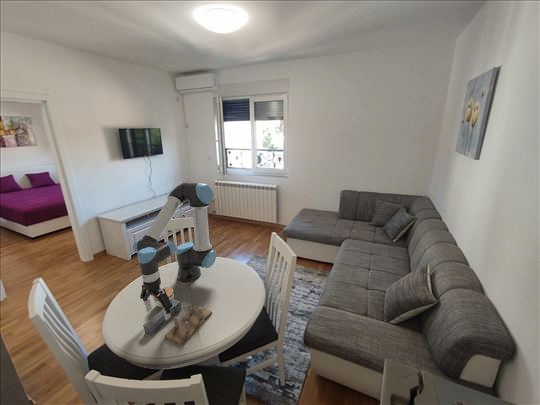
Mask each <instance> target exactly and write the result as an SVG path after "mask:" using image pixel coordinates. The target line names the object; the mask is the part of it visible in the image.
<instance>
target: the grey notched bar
mask: <svg viewBox="0 0 540 405" xmlns="http://www.w3.org/2000/svg"><path fill="white" fill-rule="evenodd" d="M171 303H172V305H173V306H172V307H171V308H170V315H171V317H170V318H169V319H168V320H165V315H164V310H163V309H164V308H161V310H160V311H159V312H158V313H156V314H155V315H154V316H153V317H151V319H149V320H148V321H147V322H146V323H144V324H143V325H142V327H143V330H144V334H146V335H147V336H150V337H152V335H153V334H155V333H156V332H157V331H158V330H159V329H160V328H161V327H162V326H164V325H165V324H166V323H167V322H168V321H169V320H171V319H172V317H175V315H177V314H178V313H179V312H180V311H181V310H182V302H181V301H180V300H178V299H175V298H174V299H173V300H172V301H171Z"/></svg>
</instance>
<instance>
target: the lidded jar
mask: <svg viewBox="0 0 540 405" xmlns="http://www.w3.org/2000/svg"><path fill="white" fill-rule="evenodd" d="M160 289H161V290H163V289H165V291H166V294H167V296H168V298H169V300H170V301H172V300H173V299H175V298H174V297H175V294H174V289H173V288H172V287H169V286H167V287H166V286H165V287H160ZM159 294H160V293H159ZM157 296H159V295H157ZM152 298H153V302H154V303H155V305H156V306H157V307H158V308H161V309H164V307H163V306H162V304H161V303H160V302H159V300H158V299H156V298H155V297H154V296H152Z"/></svg>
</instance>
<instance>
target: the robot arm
mask: <svg viewBox="0 0 540 405" xmlns="http://www.w3.org/2000/svg"><path fill="white" fill-rule="evenodd" d="M213 198H214V193H213V189H212V188H211V186H210V185H209V184H206V183H202V182H201V183H200V182H187V181H185V182H182V183H180V184H178V185H177V186H176V187H174V188H173V189H172V190H171V191H170V193H169V194H168V196H167V198H166V199H167V200H166V202H165V204H164V205H163V206H162V208H161V209H160V211H159V212H158V214H157V215H156V217H155V218H154V220H153V221H152V223H151V225H150V226H149V227H148V230H147V231H146V232H145V234H144V236H142V238H140V239H137V240H134V242H133V244H132V250H133V252H134V253H136V254H137V260H138V261H137V262H138V265H139V269H140V273H141V274H140V275H141V278H142V281H143V282H142V283H143V284H142V285H141V293H140V295H139V296H140V297H139V298H140V300H142V301H143V302H144V306H145V307H144V308H145V311H146V313H148V312H150V311H151V310H153V307H152V304H151V303H152V302H151V298H150V297H151V296H152V297H153V296H154V297H155V298H156V299H158V300H159V302H160V303H161V304H162V306H163V307H164V308H162V309H163V310H164V315H165V320H168V319H169V318H170V317H171V315H170V308H171V307H172V306H173V305H172V303H171V301H170V300H169V298H168V296H167V294H166V291H165V289H163V290H161V287H160V286H161V284H162V281H161V276H160V270H159V264H160V263H161V262H164V260H166V259H168V258H169V257H171V256H172V255H174V254H175V253H176V254H175V255H176V259H177V265H178V266H177V267H178V269H177V280H178V281H179V282H182V283H190V282H194V281H195V280H197V279H199V277H200V276H201V274H202V271H201V268H205V269H208V268H211V267H212V266H213V265H214V264H215V261H216V259H217V251H216V250H215V249H213V245H212V244H211V243H210V232H209V217H208V216H209V214H208V207H209V206H210V203H211V202H212V201H213ZM185 202H189V207H190V208H191V209H192V218H193V230H194V242H190V241H188V242H184V243H181V244H179V245H178V246H176V244H175V243H174V242H173V241H171V240H167V241H164V242H159V240H160V239H161V236H162V235H163V234H164V232H165V231H166V229H167V227H168V225H169V224H170V222H171V221H172V219H173V218H174V216H175V215H176V213H177V212H178V209H179V208H180V207H182V206H183V205H184V203H185ZM159 293H160V294H159ZM157 295H159V296H157ZM171 318H172V317H171ZM171 318H170V319H171ZM170 319H169V320H170ZM169 320H168V321H169Z"/></svg>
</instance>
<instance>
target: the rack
mask: <svg viewBox="0 0 540 405" xmlns="http://www.w3.org/2000/svg"><path fill="white" fill-rule="evenodd" d="M187 308H188V313H186V314H185V316H183V317H182V318H181V319H180V320H178V317H177V316H173V324H174V326H173V327H172V328H171V329H170V330H168V332H166V333H165V335H164V339H166V340H168V341H171V342H173V343H175V344H177V345H179V346H181V347H184V345H185V344H186V342H187V341H188V340H189V339H190V338H191V337H192V336H193V335H194V334H196V332H197V331H198V329H199V328H200V327H201V326H202V325H203V324H204V323H205V322H206V321H207V320H208V319H209V317H211V315H212V314H213V311H211V310H210V309H208V308H204V307H202V306H199V305H195V306H192V303H188V304H187Z"/></svg>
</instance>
